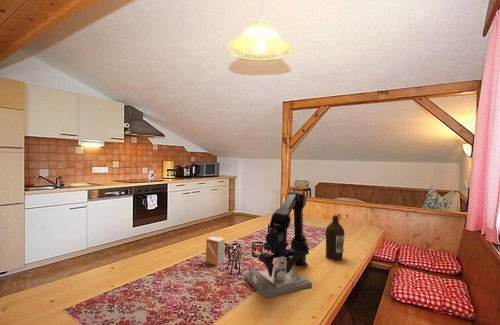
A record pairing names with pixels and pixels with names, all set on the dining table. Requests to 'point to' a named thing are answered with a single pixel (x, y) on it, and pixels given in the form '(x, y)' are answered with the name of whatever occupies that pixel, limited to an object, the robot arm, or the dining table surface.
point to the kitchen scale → (272, 288)
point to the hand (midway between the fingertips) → (279, 274)
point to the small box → (215, 250)
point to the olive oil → (334, 240)
